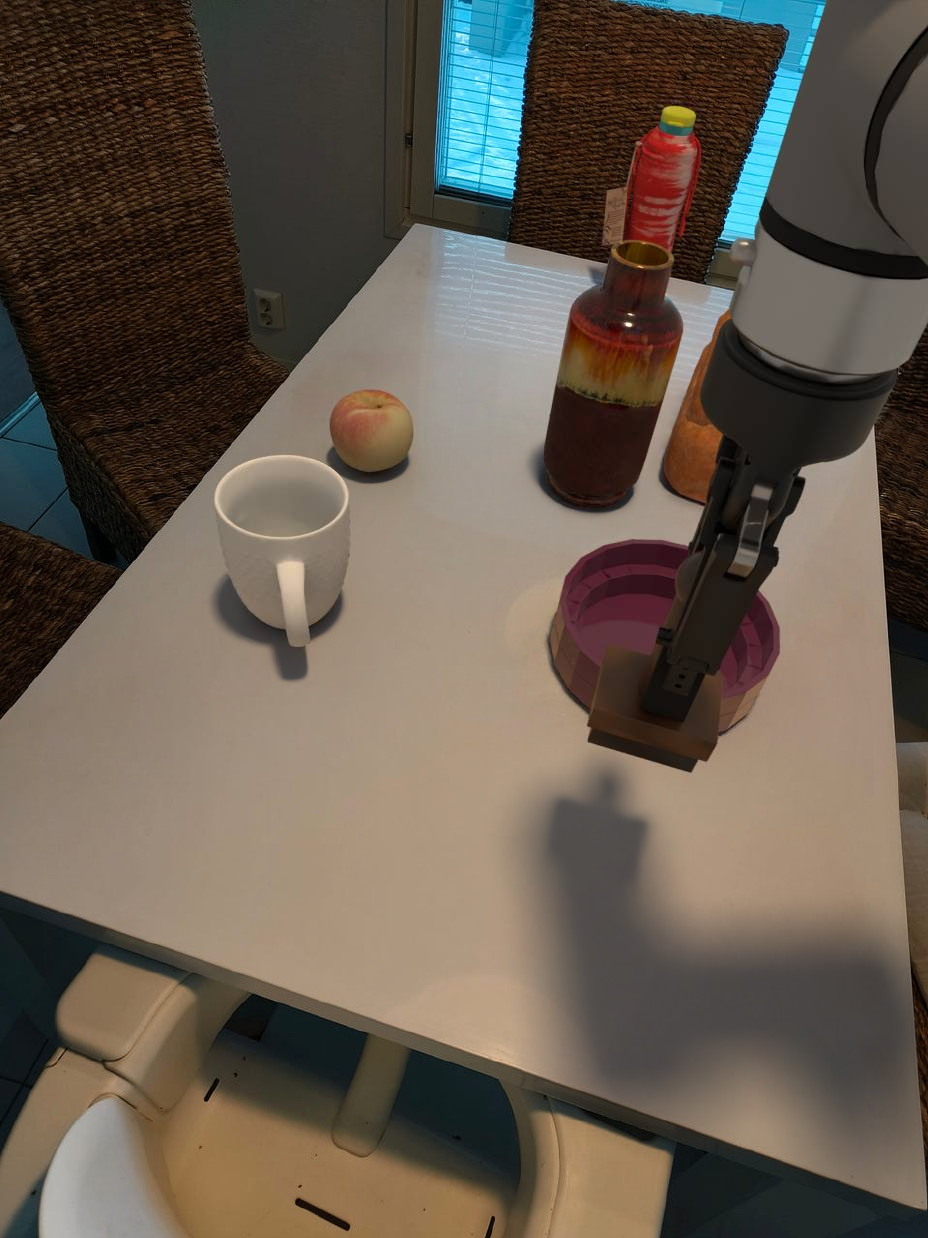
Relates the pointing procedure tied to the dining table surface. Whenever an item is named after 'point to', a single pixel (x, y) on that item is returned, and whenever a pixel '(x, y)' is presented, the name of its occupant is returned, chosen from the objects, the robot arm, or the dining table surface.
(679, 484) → the bread
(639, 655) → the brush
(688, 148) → the water bottle
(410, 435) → the yellow-red round fruit
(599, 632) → the bowl
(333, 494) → the mug
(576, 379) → the vase
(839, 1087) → the dining table surface
